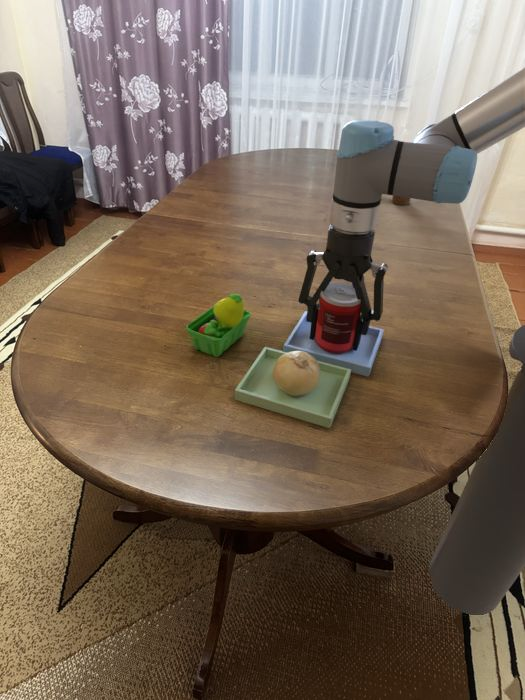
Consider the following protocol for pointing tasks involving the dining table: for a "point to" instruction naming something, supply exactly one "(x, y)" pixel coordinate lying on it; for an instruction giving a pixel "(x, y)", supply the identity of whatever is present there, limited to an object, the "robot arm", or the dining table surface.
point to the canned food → (337, 318)
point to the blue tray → (352, 359)
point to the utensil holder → (400, 200)
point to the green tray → (305, 407)
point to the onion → (296, 373)
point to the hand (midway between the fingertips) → (334, 341)
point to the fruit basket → (219, 326)
